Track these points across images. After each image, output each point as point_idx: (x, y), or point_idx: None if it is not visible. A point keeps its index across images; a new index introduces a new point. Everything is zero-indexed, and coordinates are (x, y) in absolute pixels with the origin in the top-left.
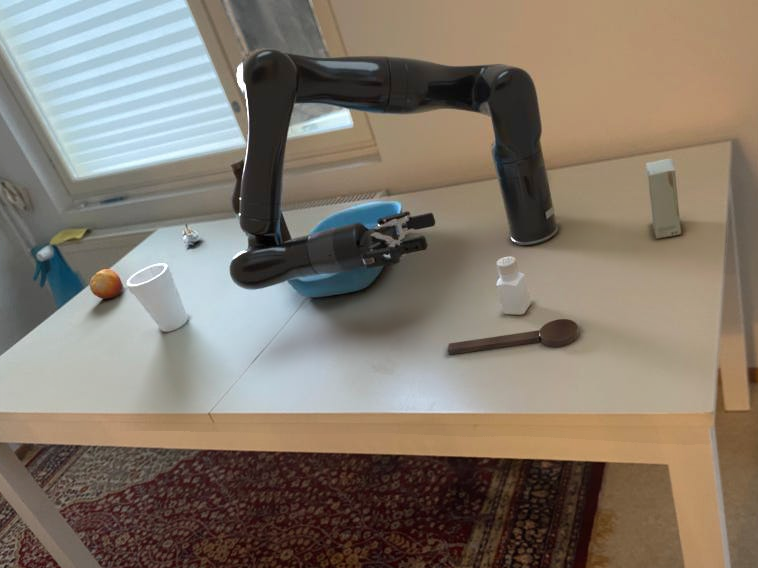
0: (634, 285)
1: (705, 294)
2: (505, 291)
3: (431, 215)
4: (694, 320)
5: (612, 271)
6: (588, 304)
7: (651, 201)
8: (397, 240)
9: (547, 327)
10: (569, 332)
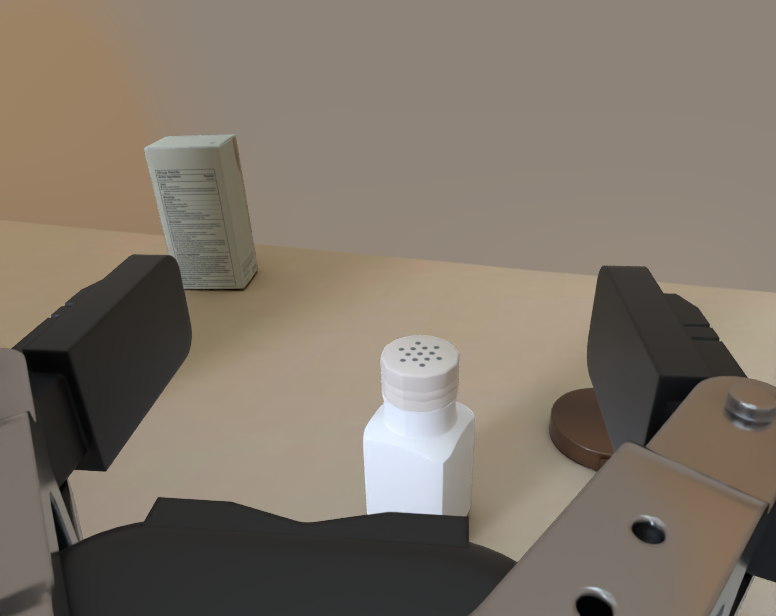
0: (410, 324)
1: (486, 271)
2: (461, 460)
3: (174, 262)
4: (567, 285)
5: (326, 344)
6: (460, 383)
7: (214, 214)
8: (681, 412)
9: (592, 438)
10: None
